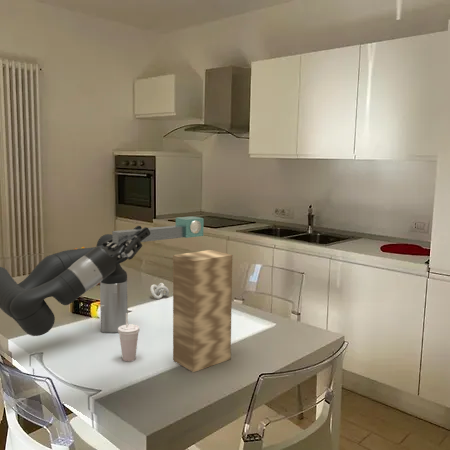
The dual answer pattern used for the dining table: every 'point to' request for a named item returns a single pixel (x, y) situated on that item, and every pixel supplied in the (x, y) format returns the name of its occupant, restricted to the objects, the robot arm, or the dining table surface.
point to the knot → (159, 291)
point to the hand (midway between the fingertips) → (144, 229)
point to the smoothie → (128, 340)
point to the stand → (202, 308)
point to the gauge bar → (165, 231)
